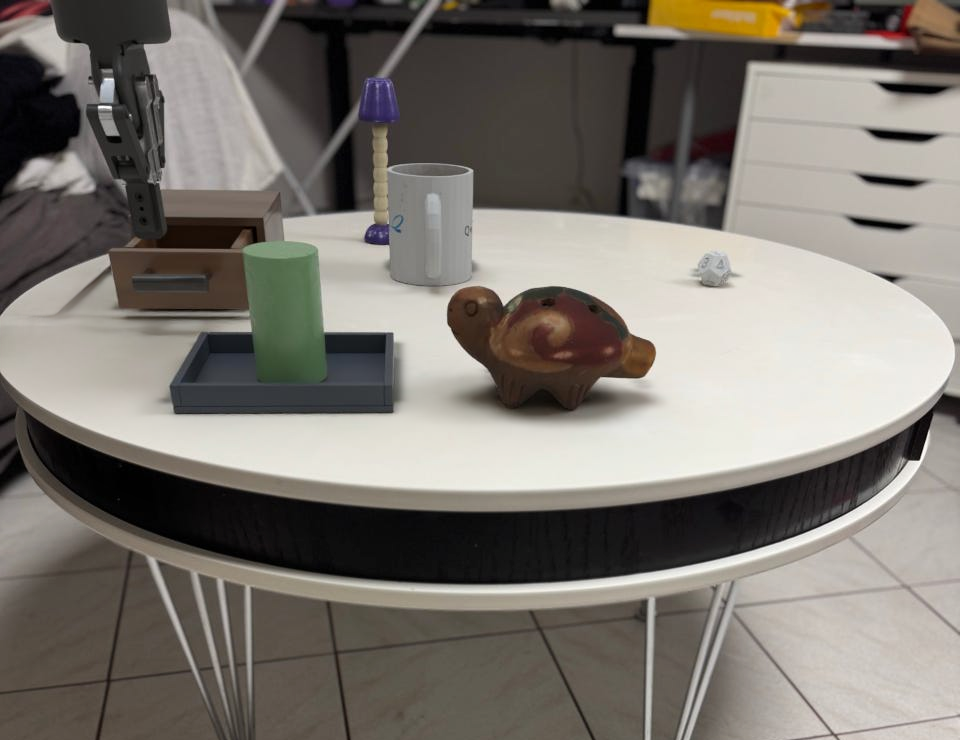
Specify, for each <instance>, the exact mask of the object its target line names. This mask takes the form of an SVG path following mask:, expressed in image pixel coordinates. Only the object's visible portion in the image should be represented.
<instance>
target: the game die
mask: <svg viewBox="0 0 960 740" xmlns="http://www.w3.org/2000/svg"><path fill="white" fill-rule="evenodd" d="M731 267H732V266H731V263H730V260H729V256H728V254H727V252H723V251H715V250H712V251H709V252H705V254H704V255H703V256H702V258H701V259H700V260H699V261H698V263H697V268H698V272H699V276H700V279H701V282H702V285H703V286H710V287H720V286H724V284H726V282H727V281H728V280H729V279H730V278H731V276H732V275H733V272H732V268H731Z"/></svg>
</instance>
